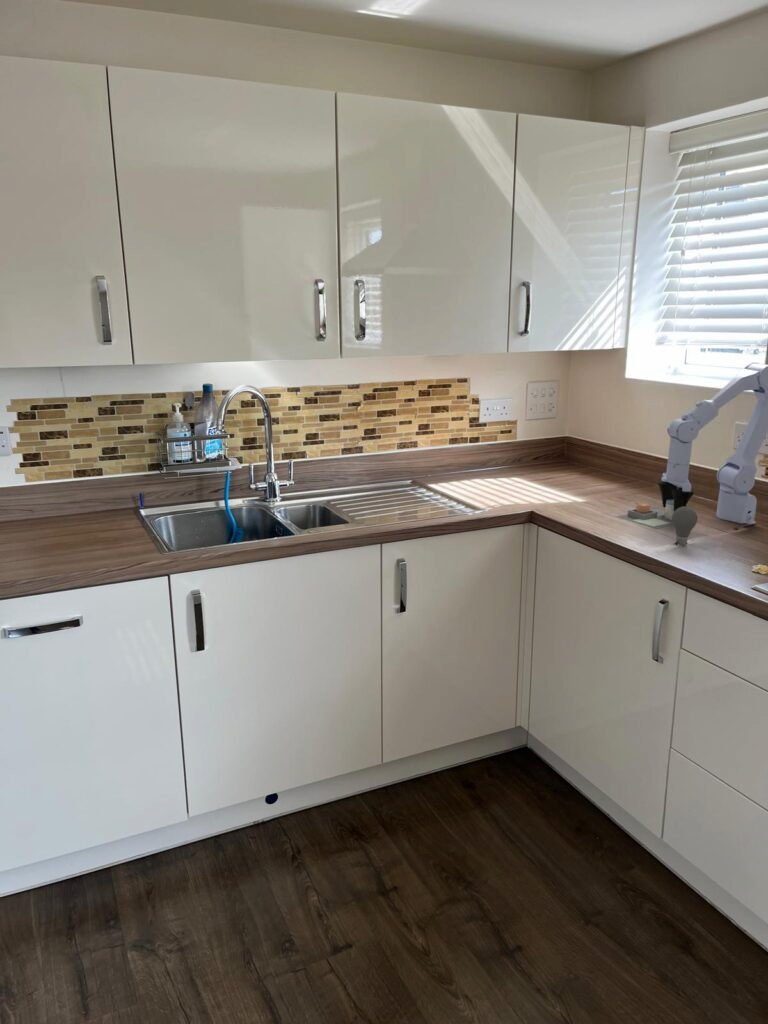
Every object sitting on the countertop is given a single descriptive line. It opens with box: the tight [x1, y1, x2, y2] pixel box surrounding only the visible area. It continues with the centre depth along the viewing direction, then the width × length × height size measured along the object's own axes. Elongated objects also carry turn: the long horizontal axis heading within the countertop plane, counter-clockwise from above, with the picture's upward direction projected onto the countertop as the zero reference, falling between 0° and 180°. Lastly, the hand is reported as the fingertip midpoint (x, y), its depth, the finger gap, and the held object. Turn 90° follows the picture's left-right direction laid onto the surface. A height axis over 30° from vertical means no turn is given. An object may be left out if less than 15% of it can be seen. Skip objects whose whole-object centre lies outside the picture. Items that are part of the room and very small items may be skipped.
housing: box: [615, 508, 674, 530], centre depth 213 cm, size 14×17×3 cm
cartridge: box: [664, 499, 674, 521], centre depth 213 cm, size 4×4×6 cm
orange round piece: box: [635, 502, 651, 514], centre depth 214 cm, size 4×4×3 cm
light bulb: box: [671, 506, 698, 546], centre depth 192 cm, size 6×6×10 cm
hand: (672, 510), depth 213 cm, fingers open, 7 cm apart
